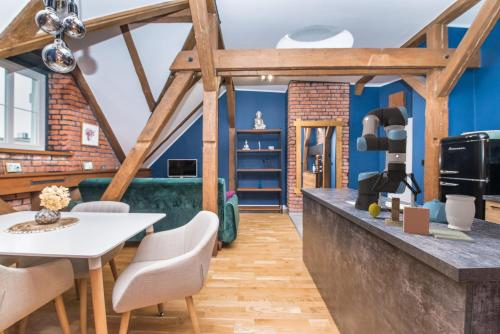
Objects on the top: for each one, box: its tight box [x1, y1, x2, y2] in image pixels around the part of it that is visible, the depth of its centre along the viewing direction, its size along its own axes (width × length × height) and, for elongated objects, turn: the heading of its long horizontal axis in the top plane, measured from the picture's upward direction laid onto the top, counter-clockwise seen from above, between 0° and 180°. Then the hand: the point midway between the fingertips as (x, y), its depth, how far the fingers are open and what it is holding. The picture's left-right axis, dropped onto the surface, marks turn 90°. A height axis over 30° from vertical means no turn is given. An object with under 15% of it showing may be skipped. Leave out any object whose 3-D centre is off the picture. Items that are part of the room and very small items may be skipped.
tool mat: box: [429, 227, 475, 243], centre depth 104 cm, size 14×12×1 cm
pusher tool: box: [384, 196, 403, 228], centre depth 120 cm, size 5×8×13 cm, turn 68°
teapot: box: [414, 198, 449, 224], centre depth 130 cm, size 15×15×11 cm
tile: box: [402, 206, 430, 236], centre depth 106 cm, size 2×9×11 cm, turn 68°
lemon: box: [368, 203, 381, 218], centre depth 134 cm, size 6×6×8 cm
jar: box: [445, 194, 476, 232], centre depth 114 cm, size 11×10×15 cm
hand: (395, 207), depth 119 cm, fingers open, 13 cm apart
